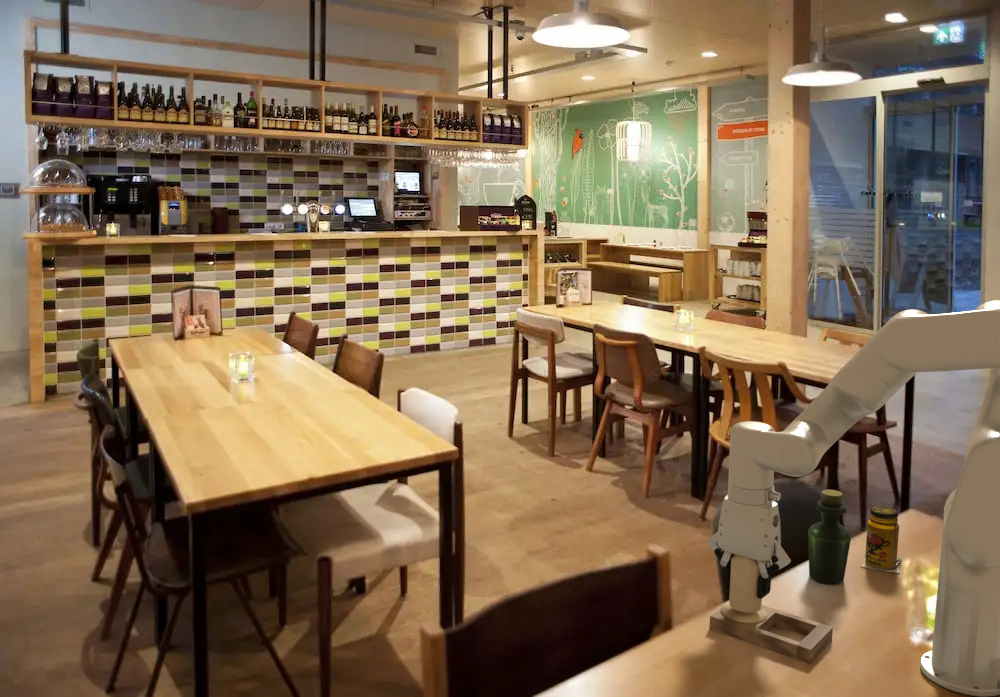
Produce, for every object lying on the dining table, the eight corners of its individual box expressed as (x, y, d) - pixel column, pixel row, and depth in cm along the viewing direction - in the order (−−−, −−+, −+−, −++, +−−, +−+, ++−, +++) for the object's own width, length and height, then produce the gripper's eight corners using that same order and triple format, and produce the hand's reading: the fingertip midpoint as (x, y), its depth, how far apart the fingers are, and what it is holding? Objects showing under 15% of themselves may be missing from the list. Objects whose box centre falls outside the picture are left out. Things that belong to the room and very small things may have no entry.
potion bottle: (846, 572, 176) (852, 488, 173) (850, 589, 168) (856, 501, 165) (804, 567, 178) (809, 484, 175) (806, 584, 171) (811, 497, 168)
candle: (762, 614, 150) (765, 560, 148) (730, 611, 151) (732, 557, 149) (759, 600, 155) (762, 548, 154) (728, 597, 156) (730, 545, 155)
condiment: (860, 567, 179) (864, 512, 177) (864, 553, 186) (868, 500, 184) (899, 574, 175) (903, 518, 173) (901, 559, 183) (906, 505, 181)
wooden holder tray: (832, 640, 149) (833, 625, 148) (809, 663, 141) (810, 648, 141) (734, 609, 160) (735, 595, 160) (709, 629, 153) (710, 614, 152)
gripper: (807, 498, 147) (801, 597, 150) (715, 478, 158) (711, 571, 161) (789, 510, 141) (784, 613, 144) (695, 488, 153) (692, 584, 156)
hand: (745, 590), depth 153 cm, fingers closed on candle, 5 cm apart
